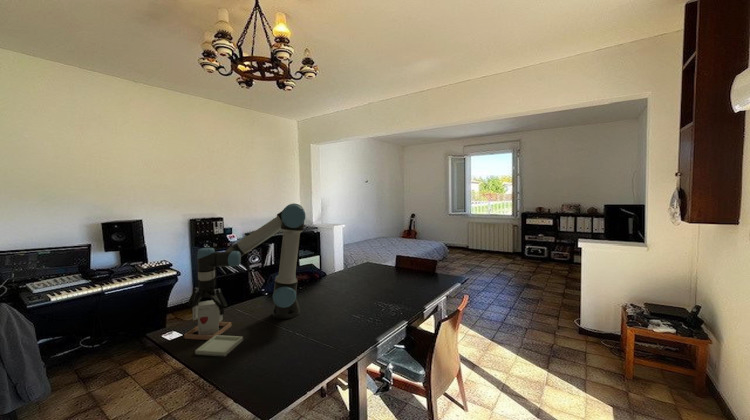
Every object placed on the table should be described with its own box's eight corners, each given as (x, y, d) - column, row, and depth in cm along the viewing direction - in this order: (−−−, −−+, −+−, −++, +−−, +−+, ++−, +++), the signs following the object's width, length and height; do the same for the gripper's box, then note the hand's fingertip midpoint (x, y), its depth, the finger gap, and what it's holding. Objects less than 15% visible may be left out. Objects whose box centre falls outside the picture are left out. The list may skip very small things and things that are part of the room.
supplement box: (198, 337, 146) (196, 308, 145) (199, 330, 154) (197, 301, 153) (219, 333, 150) (217, 304, 149) (219, 326, 158) (217, 298, 157)
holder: (231, 326, 158) (231, 322, 158) (212, 340, 144) (212, 336, 143) (205, 324, 160) (205, 320, 160) (184, 338, 145) (184, 334, 145)
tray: (243, 340, 143) (242, 336, 143) (225, 356, 129) (225, 352, 129) (215, 338, 145) (215, 335, 145) (195, 354, 131) (195, 350, 131)
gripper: (234, 277, 152) (235, 318, 154) (189, 275, 155) (190, 315, 157) (225, 282, 145) (226, 324, 146) (178, 280, 148) (179, 321, 149)
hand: (207, 320), depth 151 cm, fingers open, 13 cm apart
